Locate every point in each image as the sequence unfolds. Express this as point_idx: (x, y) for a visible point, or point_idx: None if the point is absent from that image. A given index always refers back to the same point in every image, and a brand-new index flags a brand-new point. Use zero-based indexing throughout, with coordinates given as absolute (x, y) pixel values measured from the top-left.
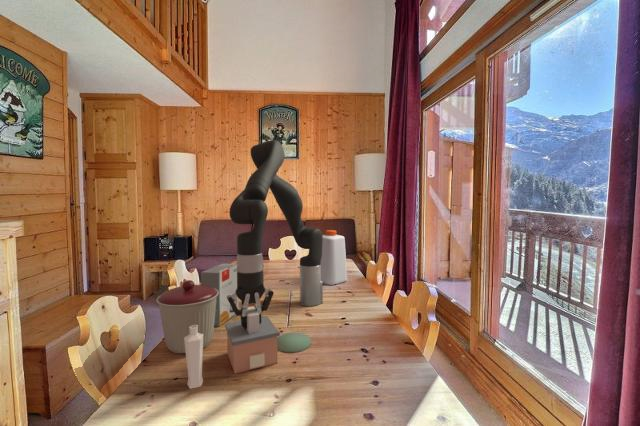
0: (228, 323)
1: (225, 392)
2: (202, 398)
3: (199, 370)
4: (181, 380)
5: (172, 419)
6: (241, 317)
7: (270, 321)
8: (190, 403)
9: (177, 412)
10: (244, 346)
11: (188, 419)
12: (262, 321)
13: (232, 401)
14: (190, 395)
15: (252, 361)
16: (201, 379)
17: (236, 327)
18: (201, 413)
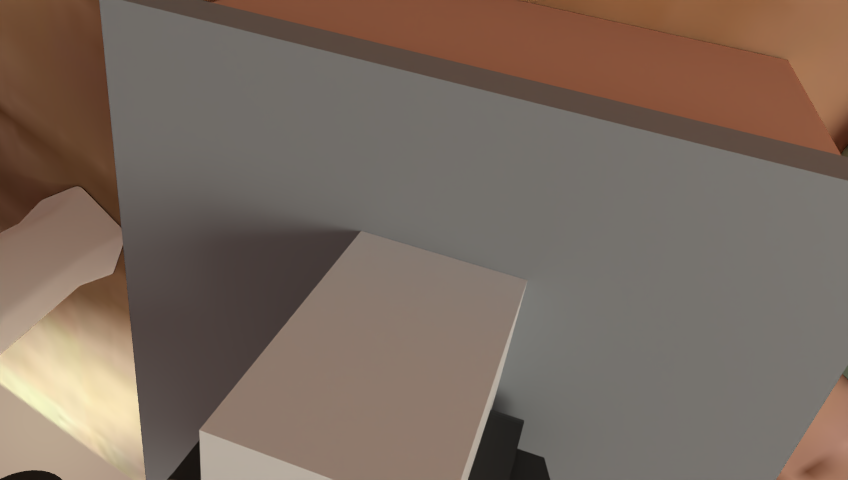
0: (148, 39)
1: None
2: (123, 366)
3: (30, 327)
4: (3, 136)
5: (17, 392)
6: (189, 477)
7: (779, 448)
8: (73, 358)
9: (28, 370)
10: None
11: (75, 433)
12: (670, 355)
13: None
14: (68, 306)
15: None
16: (99, 262)
17: (238, 255)
18: (120, 441)
